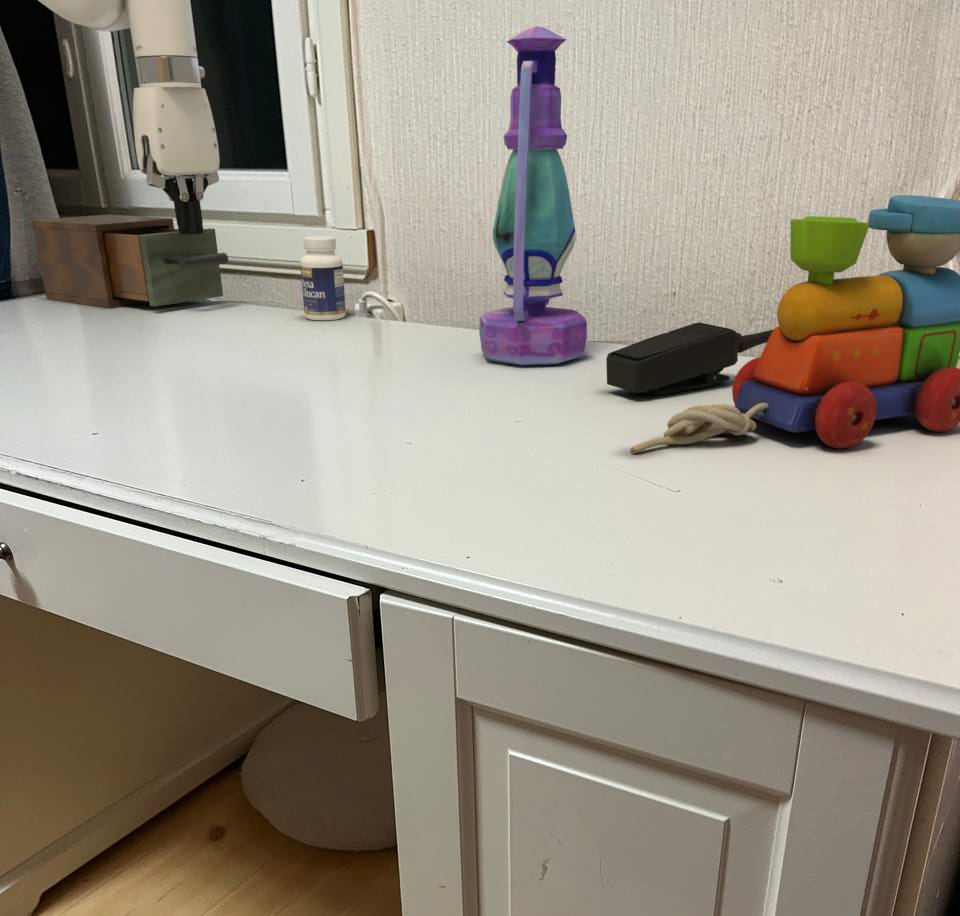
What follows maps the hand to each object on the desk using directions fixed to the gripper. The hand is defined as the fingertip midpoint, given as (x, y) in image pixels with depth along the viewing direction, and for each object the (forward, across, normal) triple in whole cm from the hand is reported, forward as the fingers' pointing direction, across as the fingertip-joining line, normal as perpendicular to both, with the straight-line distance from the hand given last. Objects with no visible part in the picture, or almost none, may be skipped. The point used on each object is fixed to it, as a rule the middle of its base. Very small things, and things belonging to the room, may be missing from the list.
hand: (191, 233), depth 131 cm
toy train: (+11, +12, +90) cm, 92 cm away
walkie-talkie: (+10, +2, +76) cm, 77 cm away
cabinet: (+10, 0, -20) cm, 22 cm away
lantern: (+10, +1, +56) cm, 57 cm away
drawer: (+9, 0, -7) cm, 11 cm away
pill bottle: (+10, -5, +19) cm, 22 cm away
